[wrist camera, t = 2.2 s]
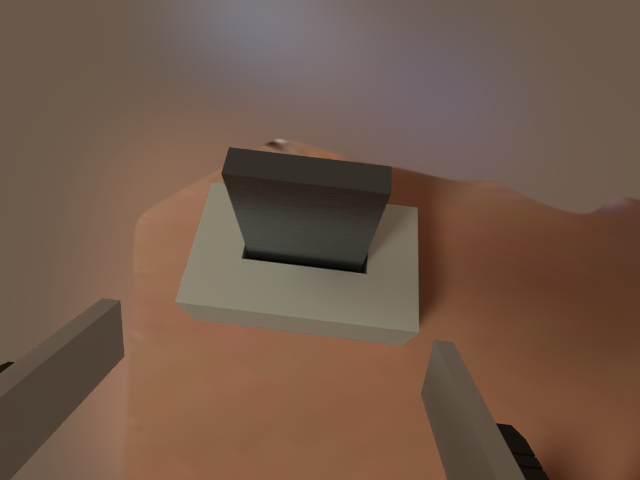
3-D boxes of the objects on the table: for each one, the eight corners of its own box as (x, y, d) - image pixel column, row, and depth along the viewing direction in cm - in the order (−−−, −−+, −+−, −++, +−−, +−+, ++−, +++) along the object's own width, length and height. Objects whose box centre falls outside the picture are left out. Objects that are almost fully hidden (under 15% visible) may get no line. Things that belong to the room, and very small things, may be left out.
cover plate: (356, 266, 36) (391, 166, 22) (354, 285, 35) (390, 193, 21) (258, 254, 36) (229, 147, 22) (254, 272, 35) (221, 173, 21)
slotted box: (401, 236, 39) (417, 207, 34) (400, 345, 34) (419, 332, 29) (224, 214, 40) (212, 182, 34) (195, 320, 34) (175, 301, 29)
